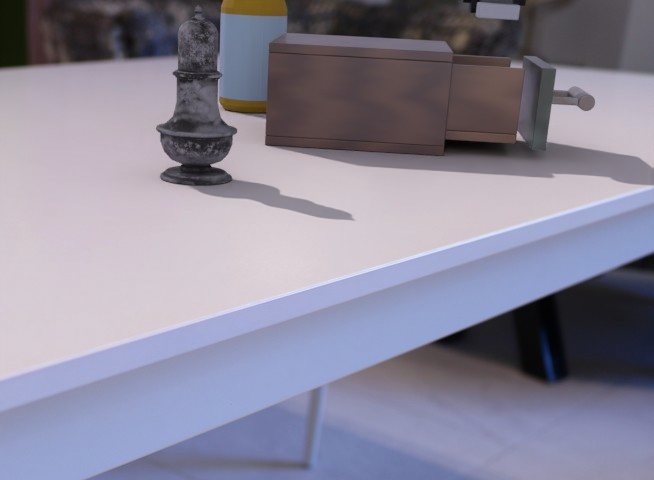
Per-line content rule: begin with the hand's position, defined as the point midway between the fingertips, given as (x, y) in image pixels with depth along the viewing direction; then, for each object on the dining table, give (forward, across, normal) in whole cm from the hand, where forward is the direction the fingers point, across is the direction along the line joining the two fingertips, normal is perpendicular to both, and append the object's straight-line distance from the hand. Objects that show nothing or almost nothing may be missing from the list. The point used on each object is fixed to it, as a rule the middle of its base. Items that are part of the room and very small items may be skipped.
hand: (492, 11), depth 95 cm
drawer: (+11, 0, +2) cm, 11 cm away
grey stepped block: (0, 0, +2) cm, 2 cm away
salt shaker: (+12, +22, +26) cm, 36 cm away
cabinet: (+12, +11, +2) cm, 16 cm away
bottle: (+12, +23, -14) cm, 30 cm away
